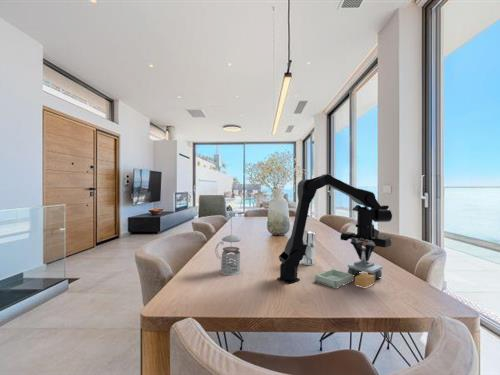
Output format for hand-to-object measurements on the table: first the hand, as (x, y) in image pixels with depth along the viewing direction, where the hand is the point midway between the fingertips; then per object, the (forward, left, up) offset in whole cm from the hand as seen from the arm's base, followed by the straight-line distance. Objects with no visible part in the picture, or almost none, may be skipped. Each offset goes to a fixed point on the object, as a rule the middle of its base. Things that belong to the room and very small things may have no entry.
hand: (364, 260), depth 110 cm
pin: (0, 0, -2) cm, 2 cm away
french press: (-39, +39, -7) cm, 56 cm away
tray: (-14, +4, -7) cm, 16 cm away
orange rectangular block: (-9, -5, -7) cm, 12 cm away
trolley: (0, -1, -7) cm, 7 cm away
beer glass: (-3, +25, -7) cm, 27 cm away
